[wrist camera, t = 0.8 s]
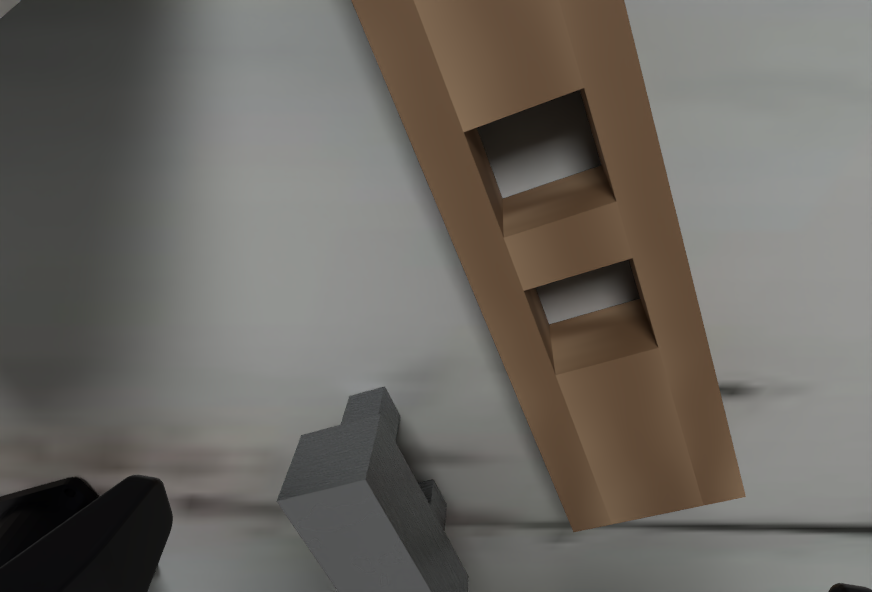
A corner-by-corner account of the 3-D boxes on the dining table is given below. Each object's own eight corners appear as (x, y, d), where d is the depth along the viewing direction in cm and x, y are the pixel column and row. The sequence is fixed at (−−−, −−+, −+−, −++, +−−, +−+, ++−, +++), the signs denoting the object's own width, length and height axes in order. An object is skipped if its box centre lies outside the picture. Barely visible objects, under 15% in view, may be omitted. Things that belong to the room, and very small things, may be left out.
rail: (566, 472, 27) (573, 532, 24) (324, -128, 18) (294, -136, 15) (720, 437, 26) (745, 496, 23) (548, -239, 16) (558, -268, 13)
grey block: (406, 530, 29) (386, 663, 24) (321, 382, 26) (276, 501, 21) (471, 516, 29) (465, 649, 24) (392, 362, 25) (365, 479, 20)
